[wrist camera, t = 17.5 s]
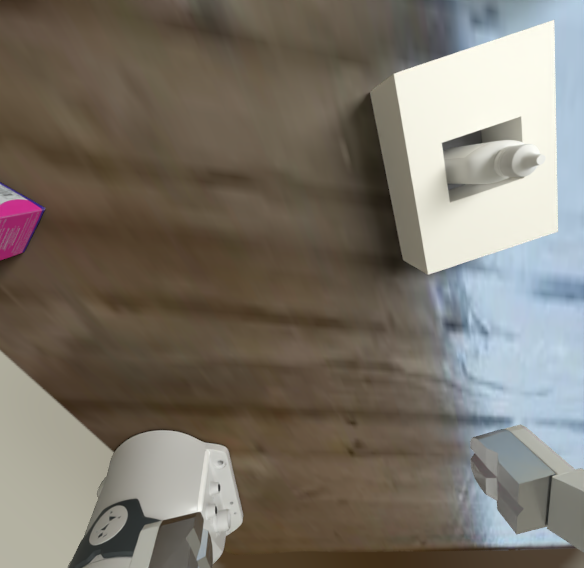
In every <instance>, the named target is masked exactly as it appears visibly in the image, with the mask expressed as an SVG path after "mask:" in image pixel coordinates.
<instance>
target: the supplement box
mask: <svg viewBox="0 0 584 568" xmlns="http://www.w3.org/2000/svg"><path fill="white" fill-rule="evenodd" d="M44 211H45V208H44V207H43V206H41V205H39V204H37V203H36V202H34V201H32V200H31V199H29V198H27V197H25V196H24V195H22V194H20V193H18V192H16V191H15V190H13V189H11V188H9V187H8V186H6V185H4V184H2V183H1V182H0V260H3V259H6V258H9V257H12V256H15V255H18V254H20V253H23V252H25V250H26V247H27V245H28V243H29V241H30V239H31V237H32V235H33V233H34V231H35V229H36V227H37V225H38V223H39V221H40V219H41V217H42V215H43V213H44Z"/></svg>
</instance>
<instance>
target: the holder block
mask: <svg viewBox="0 0 584 568" xmlns="http://www.w3.org/2000/svg"><path fill="white" fill-rule="evenodd" d="M370 96H371V101H372V106H373V111H374V116H375V121H376V126H377V131H378V136H379V141H380V146H381V151H382V157H383V162H384V167H385V172H386V177H387V182H388V187H389V192H390V197H391V202H392V207H393V212H394V217H395V222H396V228H397V233H398V238H399V243H400V248H401V253H402V258H403V260H404V261H405V262H407V263H409V264H410V265H412V266H414V267H416V268H417V269H419V270H421V271H423V272H424V273H426V274H428V275H429V274H432V273H435V272H438V271H441V270H444V269H447V268H450V267H453V266H456V265H459V264H462V263H465V262H468V261H471V260H474V259H477V258H480V257H483V256H486V255H489V254H492V253H495V252H498V251H501V250H504V249H507V248H510V247H513V246H516V245H519V244H522V243H525V242H528V241H531V240H534V239H537V238H540V237H543V236H546V235H549V234H552V233H555V232H558V206H557V150H556V94H555V39H554V20H553V21H550V22H547V23H544V24H541V25H538V26H535V27H532V28H529V29H526V30H523V31H520V32H517V33H514V34H511V35H508V36H505V37H502V38H499V39H496V40H493V41H490V42H487V43H484V44H481V45H478V46H475V47H472V48H469V49H466V50H463V51H460V52H457V53H454V54H451V55H448V56H445V57H442V58H439V59H436V60H433V61H430V62H427V63H424V64H421V65H418V66H415V67H412V68H409V69H406V70H403V71H400V72H398V73H395V74H393V75H391V76H390V77H389V78H388V79H386V80H385V81H384V82H382V83H381V84H380V85H378V86H377V87H376V88H374V89H373V90H372V91H370ZM501 140H515V141H520V142H523V143H524V144H533V145H534V146H536V147H537V148H538V150H539V152H540V154H542V155H544V156H545V157H546V159H545V162H544V163H543V164H541V165H538V166H537V168H536V169H535V171H534V172H532V173H531V174H530V175H528V176H525V177H509V178H507V179H505V180H502V181H499V182H496V183H491V184H448V183H447V177H446V170H445V163H444V155H443V151H444V150H446V149H450V148H454V147H460V146H467V145H474V144H480V143H487V142H494V141H501Z"/></svg>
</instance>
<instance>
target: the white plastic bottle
mask: <svg viewBox="0 0 584 568" xmlns="http://www.w3.org/2000/svg"><path fill="white" fill-rule="evenodd" d="M443 155H444V163H445V170H446V177H447V183H448V184H491V183H496V182H499V181H502V180H505V179H507V178H509V177H525V176H528V175H530V174H531V173H532V172H534V171H535V169H536V168H537V166H538V165H541V164H543V163H544V162H545V159H546V157H545V156H544V155H542V154H540V152H539V150H538V148H537V147H536V146H534V145H533V144H524V143H523V142H520V141H515V140H501V141H494V142H487V143H480V144H474V145H467V146H460V147H454V148H450V149H446V150H444V151H443Z"/></svg>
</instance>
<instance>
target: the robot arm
mask: <svg viewBox="0 0 584 568" xmlns="http://www.w3.org/2000/svg"><path fill="white" fill-rule="evenodd" d="M470 448H471V449H472V450H473V451H474V452H475V453H474V455H473V456H472V458H471V469H472V472H473V474H474V477H475V479H476V481H477V483H478V484H479V486H480V487H481V489H482V490H483V491H484V493H485V494H486V495H488V496H489V497H491V498H493V499H495V500H497V509H498V511H499V512H500V514H501V515H502V516H503V517H504V519H505V520H506V521H507V523H508V524H509V525H510V526H511V528H512V529H513V530H514V532H515V533H516V534H520V533H524V532H527V531H531V530H535V529H539V528H543V527H547V529H549V530H550V531H552V532H553V533H555V534H556V535H558V536H559V537H561V538H562V539H564V540H566V541H567V542H569V543H570V544H572V545H573V546H575V547H576V548H578V549H579V550H581V551H582V552H584V470H583V469H581V468H580V469H574V468H573V467H572V466H571V465H569V464H568V463H567V462H566V461H565V460H564V459H562V458H561V457H560V456H559V455H558V454H557V453H555V452H554V451H553V450H552V449H551V448H550V447H548V446H547V445H546V444H545V443H544V442H543V441H541V440H540V439H539V438H538V437H537V436H536V435H534V434H533V433H532V432H531V431H530V430H529V429H527V428H526V427H525V426H522V425H517V426H513V427H510V428H506V429H501V430H497V431H494V432H490V433H487V434H483V435H480V436H476V437H473V438H472V439H471V441H470ZM219 460H221V461H219ZM97 496H98V501H97V504H96V506H95V509H94V511H93V514H92V517H91V519H90V522H89V524H88V527H87V530H86V533H85V535H84V538H83V540H82V541H81V543H80V544H79V546H78V549H77V551H76V553H75V555H74V557H73V559H72V561H71V562H70V563H69V565H68V568H212V565H213V563H214V562H216V560H218V558H219V557H220V556H221V554H222V552H223V549H224V545H225V537H226V536H227V535H228V534H230V533H232V532H233V531H234V530H236V529H237V528H238V527H239V526H240V525H241V524H242V521H243V512H242V508H241V503H240V499H239V495H238V490H237V486H236V482H235V477H234V473H233V469H232V464H231V460H230V456H229V452H228V449H227V448H226V447H225V446H222V445H218V444H212V443H205V442H202V441H200V440H198V439H196V438H194V437H192V436H190V435H187V434H184V433H181V432H176V431H168V430H157V431H149V432H145V433H141V434H138V435H136V436H134V437H132V438H130V439H128V440H126V441H125V442H124V443H122V444H121V445H120V446H119V447H118V448H117V449H116V451H115V452H114V454H113V456H112V458H111V461H110V466H109V469H108V473H107V477H106V478H105V479H104V480H103V481H102V483H101V485H100V487H99V489H98V492H97Z"/></svg>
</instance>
